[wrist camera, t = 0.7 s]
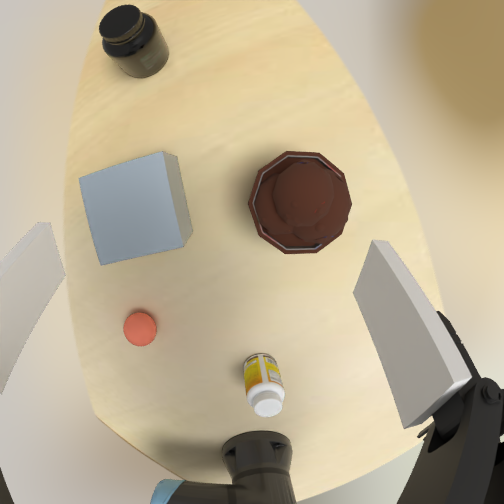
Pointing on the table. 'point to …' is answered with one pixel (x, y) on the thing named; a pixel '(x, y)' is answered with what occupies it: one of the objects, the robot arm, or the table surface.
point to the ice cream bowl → (300, 202)
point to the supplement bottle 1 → (133, 41)
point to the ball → (139, 329)
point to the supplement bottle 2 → (263, 385)
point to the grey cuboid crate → (136, 208)
